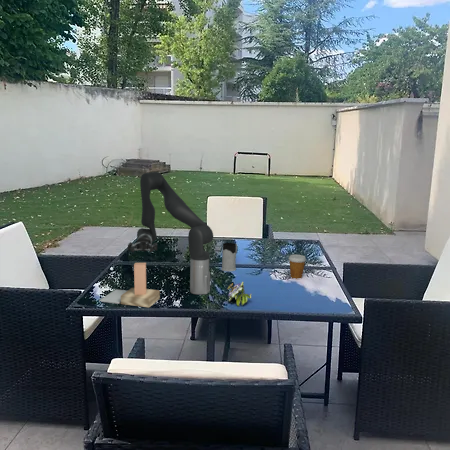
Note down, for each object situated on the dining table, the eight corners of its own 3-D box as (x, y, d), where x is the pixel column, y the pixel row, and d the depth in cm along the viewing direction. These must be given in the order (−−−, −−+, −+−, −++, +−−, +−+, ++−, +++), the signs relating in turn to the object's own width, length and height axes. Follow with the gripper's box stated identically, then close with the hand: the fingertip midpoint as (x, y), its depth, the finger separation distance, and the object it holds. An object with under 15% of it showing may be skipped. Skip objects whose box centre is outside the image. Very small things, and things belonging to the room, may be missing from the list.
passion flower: (230, 312, 214) (225, 288, 219) (252, 307, 215) (247, 283, 220) (230, 307, 204) (225, 281, 208) (254, 302, 205) (248, 277, 209)
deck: (159, 298, 215) (159, 290, 214) (149, 307, 203) (149, 299, 203) (132, 295, 218) (132, 287, 217) (120, 304, 207) (120, 295, 206)
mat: (134, 292, 222) (134, 291, 222) (118, 303, 207) (118, 302, 207) (115, 290, 225) (115, 289, 225) (99, 301, 210) (99, 300, 209)
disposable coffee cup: (306, 280, 248) (308, 258, 245) (289, 280, 247) (290, 258, 244) (302, 274, 257) (303, 254, 254) (286, 274, 256) (287, 254, 254)
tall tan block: (146, 291, 212) (145, 262, 210) (145, 294, 208) (145, 265, 206) (135, 291, 212) (135, 262, 209) (134, 294, 208) (134, 265, 205)
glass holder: (218, 269, 263) (219, 244, 260) (229, 264, 275) (230, 240, 272) (232, 272, 259) (232, 246, 256) (242, 266, 271) (243, 241, 268)
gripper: (130, 234, 232) (126, 242, 216) (158, 235, 233) (156, 242, 217) (130, 249, 233) (126, 257, 218) (158, 249, 235) (156, 257, 219)
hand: (141, 250), depth 218 cm, fingers open, 8 cm apart
